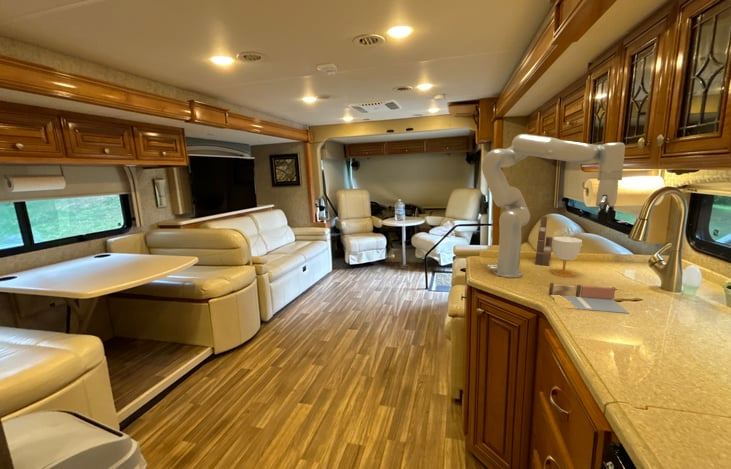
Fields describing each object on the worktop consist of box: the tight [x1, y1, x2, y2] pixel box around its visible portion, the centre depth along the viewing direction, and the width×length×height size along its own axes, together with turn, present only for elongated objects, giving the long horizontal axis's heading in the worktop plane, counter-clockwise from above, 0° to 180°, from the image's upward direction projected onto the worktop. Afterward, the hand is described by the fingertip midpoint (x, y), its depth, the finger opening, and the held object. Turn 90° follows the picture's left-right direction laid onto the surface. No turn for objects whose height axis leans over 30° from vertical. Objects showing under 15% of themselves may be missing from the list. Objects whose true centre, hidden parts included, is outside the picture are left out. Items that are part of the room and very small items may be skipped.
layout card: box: [562, 294, 630, 314], centre depth 125 cm, size 22×14×1 cm, turn 76°
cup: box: [552, 236, 583, 278], centre depth 157 cm, size 12×12×17 cm
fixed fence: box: [548, 282, 582, 297], centre depth 131 cm, size 11×1×5 cm, turn 76°
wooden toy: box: [534, 215, 554, 267], centre depth 176 cm, size 16×7×25 cm, turn 149°
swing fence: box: [580, 285, 616, 300], centre depth 128 cm, size 11×1×4 cm, turn 76°
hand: (605, 221), depth 128 cm, fingers open, 9 cm apart
